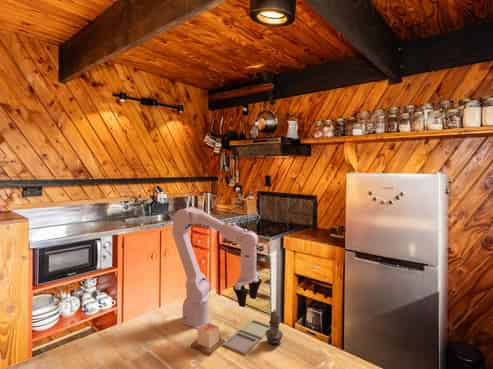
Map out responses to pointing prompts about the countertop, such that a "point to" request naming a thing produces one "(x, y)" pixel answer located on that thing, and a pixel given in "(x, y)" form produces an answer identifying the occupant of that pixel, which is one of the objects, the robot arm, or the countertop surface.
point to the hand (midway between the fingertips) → (247, 302)
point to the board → (205, 349)
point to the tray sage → (255, 328)
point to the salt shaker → (274, 330)
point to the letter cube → (208, 335)
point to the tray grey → (241, 342)
